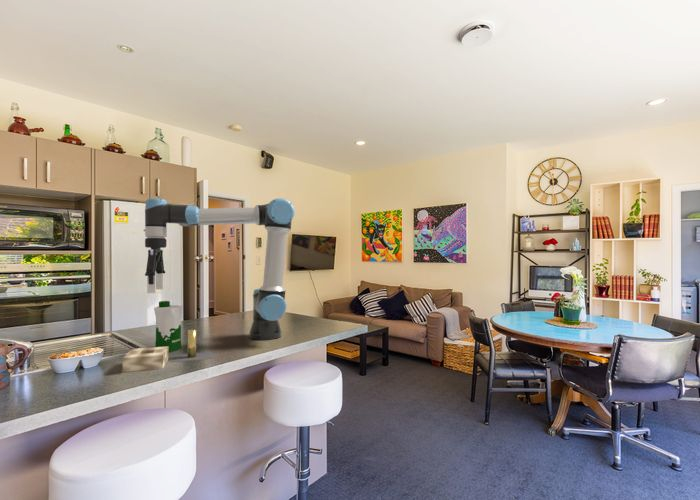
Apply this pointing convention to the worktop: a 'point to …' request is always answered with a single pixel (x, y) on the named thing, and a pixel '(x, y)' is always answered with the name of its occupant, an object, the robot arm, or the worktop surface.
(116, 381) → the worktop surface
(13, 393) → the worktop surface
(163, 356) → the hole block
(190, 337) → the brass pin
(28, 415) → the worktop surface
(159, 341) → the milk carton
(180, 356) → the mat
